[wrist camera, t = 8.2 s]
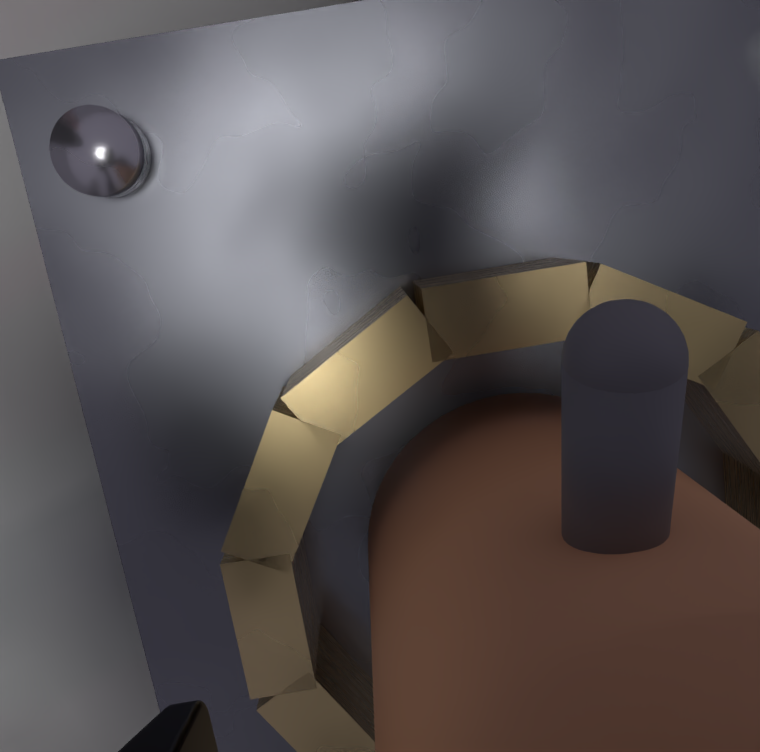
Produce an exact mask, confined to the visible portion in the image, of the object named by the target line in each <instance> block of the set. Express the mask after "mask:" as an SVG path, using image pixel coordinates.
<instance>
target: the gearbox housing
mask: <svg viewBox="0 0 760 752" xmlns="http://www.w3.org/2000/svg"><path fill="white" fill-rule="evenodd" d="M0 90H1V94H2V98H3V102H4V106H5V110H6V114H7V118H8V122H9V125H10V129H11V133H12V137H13V141H14V145H15V149H16V153H17V157H18V161H19V164H20V168H21V172H22V176H23V180H24V184H25V188H26V192H27V196H28V199H29V203H30V207H31V211H32V215H33V219H34V223H35V227H36V231H37V234H38V238H39V242H40V246H41V250H42V254H43V258H44V262H45V266H46V269H47V273H48V277H49V281H50V285H51V289H52V293H53V297H54V301H55V304H56V308H57V312H58V316H59V320H60V324H61V328H62V332H63V336H64V339H65V343H66V347H67V351H68V355H69V359H70V363H71V367H72V371H73V374H74V378H75V382H76V386H77V390H78V394H79V398H80V402H81V406H82V410H83V413H84V417H85V421H86V425H87V429H88V433H89V437H90V441H91V445H92V448H93V452H94V456H95V460H96V464H97V468H98V472H99V476H100V480H101V483H102V487H103V491H104V495H105V499H106V503H107V507H108V511H109V515H110V518H111V522H112V526H113V530H114V534H115V538H116V542H117V546H118V550H119V553H120V557H121V561H122V565H123V569H124V573H125V577H126V581H127V585H128V588H129V592H130V596H131V600H132V604H133V608H134V612H135V616H136V620H137V623H138V627H139V631H140V635H141V639H142V643H143V647H144V651H145V655H146V658H147V662H148V666H149V670H150V674H151V678H152V682H153V686H154V690H155V694H156V697H157V701H158V705H159V709H160V712H162V711H163V710H164V709H165V708H166V707H167V706H169V705H172V704H177V703H183V702H190V701H196V700H201V701H202V702H204V703H205V705H206V706H207V708H208V711H209V715H210V719H211V723H212V728H213V732H214V736H215V740H216V744H217V748H218V752H375V732H374V704H373V676H372V647H371V619H370V591H369V563H368V527H369V521H370V516H371V510H372V506H373V503H374V500H375V497H376V494H377V491H378V488H379V486H380V484H381V482H382V480H383V478H384V476H385V474H386V472H387V470H388V469H389V467H390V466H391V464H392V463H393V461H394V460H395V458H396V457H397V455H398V454H399V453H400V452H401V451H402V450H403V449H404V447H405V446H406V445H407V444H408V443H409V442H410V441H411V440H412V439H413V438H414V437H415V436H416V435H417V434H418V433H420V432H421V431H422V430H423V429H424V428H425V427H427V426H428V425H429V424H431V423H432V422H434V421H435V420H437V419H438V418H440V417H441V416H443V415H445V414H447V413H449V412H450V411H452V410H454V409H456V408H458V407H460V406H463V405H466V404H468V403H471V402H474V401H477V400H479V399H483V398H488V397H492V396H496V395H502V394H512V393H542V394H548V395H554V396H560V397H561V358H562V349H563V345H564V342H565V340H566V337H567V334H568V332H569V330H570V329H571V327H572V326H573V324H574V323H575V322H576V321H577V320H578V319H579V318H580V317H581V316H582V315H583V314H584V313H585V312H587V311H588V310H589V309H591V308H593V307H595V306H597V305H599V304H601V303H604V302H607V301H612V300H619V299H633V300H640V301H644V302H648V303H650V304H653V305H654V306H656V307H658V308H660V309H661V310H663V311H665V312H666V313H667V314H668V315H669V316H670V317H671V318H672V319H673V320H674V321H675V322H676V323H677V324H678V326H679V327H680V329H681V331H682V333H683V334H684V336H685V340H686V343H687V347H688V351H689V367H688V376H687V385H686V394H685V403H684V411H683V420H682V429H681V438H680V447H679V455H678V464H677V468H678V469H679V470H681V471H682V472H683V473H685V474H686V475H687V476H689V477H690V478H691V479H693V480H694V481H695V482H697V483H698V484H699V485H701V486H702V487H704V488H705V489H706V490H708V491H709V492H710V493H712V494H713V495H714V496H716V497H717V498H718V499H720V500H721V501H722V502H724V503H725V504H726V505H728V506H729V507H730V508H732V509H733V510H734V511H736V512H737V513H738V514H740V515H741V516H743V517H744V518H745V519H747V520H748V521H749V522H751V523H752V524H753V525H755V526H756V527H757V528H759V529H760V0H359V1H356V2H350V3H344V4H337V5H331V6H325V7H319V8H313V9H307V10H301V11H295V12H288V13H282V14H276V15H270V16H264V17H258V18H252V19H246V20H239V21H233V22H227V23H221V24H215V25H209V26H203V27H197V28H190V29H184V30H178V31H172V32H166V33H160V34H154V35H148V36H141V37H135V38H129V39H123V40H117V41H111V42H105V43H99V44H92V45H86V46H80V47H74V48H68V49H62V50H56V51H50V52H43V53H37V54H31V55H25V56H19V57H13V58H7V59H0Z"/></svg>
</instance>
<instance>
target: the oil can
mask: <svg viewBox="0 0 760 752" xmlns="http://www.w3.org/2000/svg"><path fill="white" fill-rule="evenodd" d="M688 367H689V351H688V347H687V343H686V340H685V336H684V334H683V333H682V331H681V329H680V327H679V326H678V324H677V323H676V322H675V321H674V320H673V319H672V318H671V317H670V316H669V315H668V314H667V313H666V312H665V311H663V310H661V309H660V308H658V307H656V306H654V305H653V304H650V303H648V302H644V301H640V300H633V299H619V300H612V301H607V302H604V303H601V304H599V305H597V306H595V307H593V308H591V309H589V310H588V311H587V312H585V313H584V314H583V315H582V316H581V317H580V318H579V319H578V320H577V321H576V322H575V323H574V324H573V326H572V327H571V329H570V330H569V332H568V334H567V337H566V340H565V342H564V345H563V349H562V358H561V397H560V396H554V395H548V394H542V393H512V394H502V395H496V396H492V397H488V398H483V399H479V400H477V401H474V402H471V403H468V404H466V405H463V406H460V407H458V408H456V409H454V410H452V411H450V412H449V413H447V414H445V415H443V416H441V417H440V418H438V419H437V420H435V421H434V422H432V423H431V424H429V425H428V426H427V427H425V428H424V429H423V430H422V431H421V432H420V433H418V434H417V435H416V436H415V437H414V438H413V439H412V440H411V441H410V442H409V443H408V444H407V445H406V446H405V447H404V449H403V450H402V451H401V452H400V453H399V454H398V455H397V457H396V458H395V460H394V461H393V463H392V464H391V466H390V467H389V469H388V470H387V472H386V474H385V476H384V478H383V480H382V482H381V484H380V486H379V488H378V491H377V494H376V497H375V500H374V503H373V506H372V510H371V516H370V521H369V527H368V563H369V591H370V619H371V647H372V676H373V704H374V732H375V752H760V529H759V528H757V527H756V526H755V525H753V524H752V523H751V522H749V521H748V520H747V519H745V518H744V517H743V516H741V515H740V514H738V513H737V512H736V511H734V510H733V509H732V508H730V507H729V506H728V505H726V504H725V503H724V502H722V501H721V500H720V499H718V498H717V497H716V496H714V495H713V494H712V493H710V492H709V491H708V490H706V489H705V488H704V487H702V486H701V485H699V484H698V483H697V482H695V481H694V480H693V479H691V478H690V477H689V476H687V475H686V474H685V473H683V472H682V471H681V470H679V469H678V468H677V464H678V455H679V447H680V438H681V429H682V420H683V411H684V403H685V394H686V385H687V376H688Z"/></svg>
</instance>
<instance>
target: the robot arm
mask: <svg viewBox="0 0 760 752" xmlns="http://www.w3.org/2000/svg"><path fill="white" fill-rule="evenodd" d="M118 752H218V748H217V744H216V740H215V736H214V732H213V728H212V723H211V719H210V715H209V711H208V708H207V706H206V705H205V703H204V702H202V701H201V700H196V701H190V702H183V703H177V704H172V705H169V706H167V707H166V708H165V709H164V710H163V711H162V712H160V713H159V714H158V715H157V716H156V717H155V718H154V719H153V720H152V721H151V722H150V723H149V724H147V725H146V726H145V727H144V728H143V729H142V730H141V731H140V732H139V733H138V734H137V735H136V736H134V737H133V738H132V739H131V740H130V741H129V742H128V743H127V744H126V745H125V746H124V747H123V748H121V749H120V750H119V751H118Z"/></svg>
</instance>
